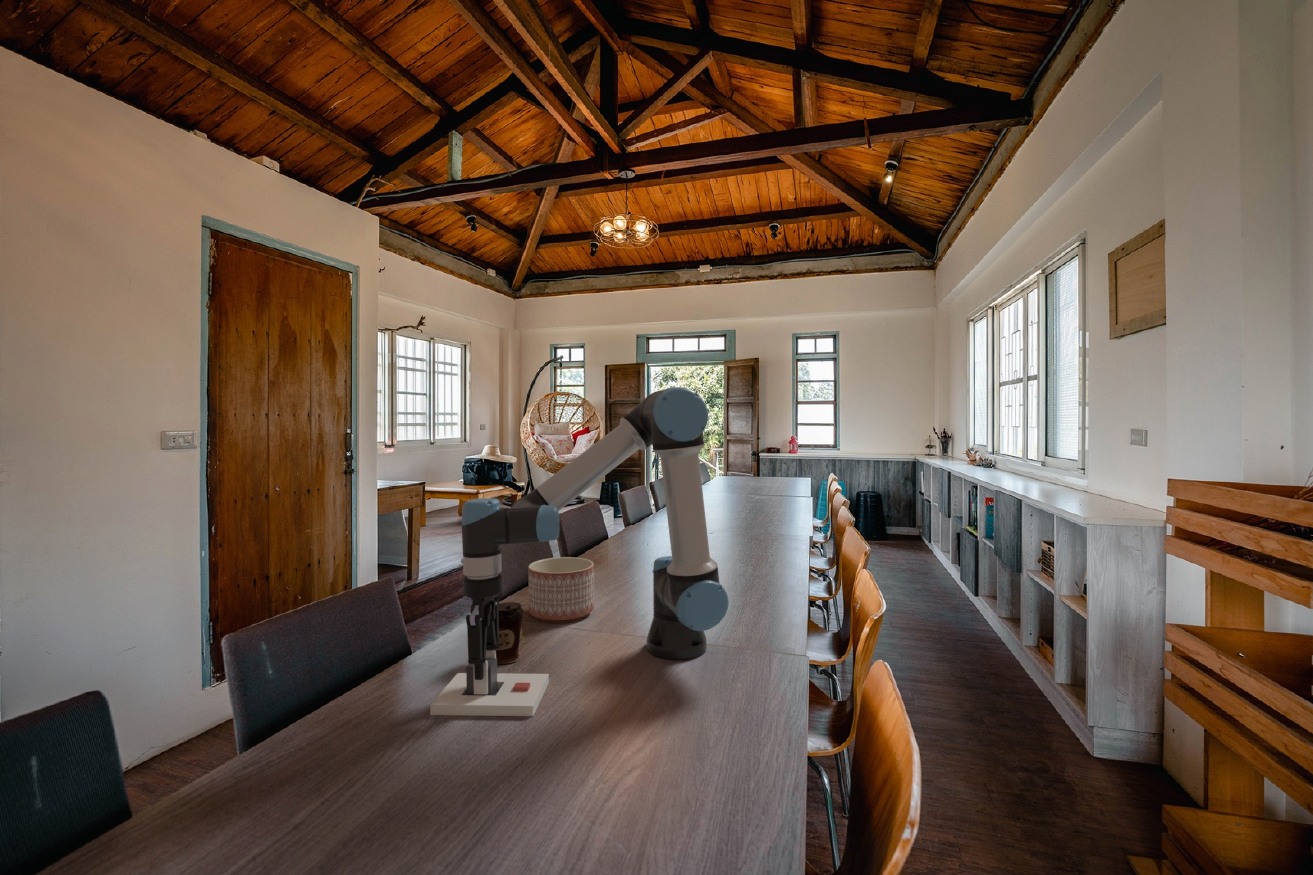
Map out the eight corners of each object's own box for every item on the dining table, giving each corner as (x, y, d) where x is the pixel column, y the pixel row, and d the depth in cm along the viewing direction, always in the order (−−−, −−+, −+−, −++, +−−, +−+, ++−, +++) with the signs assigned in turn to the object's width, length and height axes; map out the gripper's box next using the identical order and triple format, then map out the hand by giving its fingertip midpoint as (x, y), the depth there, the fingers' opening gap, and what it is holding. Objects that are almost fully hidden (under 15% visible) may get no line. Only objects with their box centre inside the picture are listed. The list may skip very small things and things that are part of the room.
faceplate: (548, 683, 122) (548, 670, 122) (533, 716, 108) (532, 701, 108) (457, 682, 122) (457, 669, 122) (430, 715, 108) (430, 700, 108)
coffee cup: (513, 668, 129) (513, 612, 129) (480, 665, 131) (480, 610, 130) (529, 653, 138) (529, 601, 137) (498, 651, 139) (498, 599, 139)
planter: (606, 610, 170) (606, 562, 170) (564, 630, 154) (564, 576, 153) (559, 600, 180) (559, 554, 180) (514, 617, 164) (514, 567, 164)
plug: (497, 691, 117) (497, 658, 117) (491, 701, 113) (490, 666, 113) (473, 691, 117) (473, 658, 117) (466, 700, 113) (466, 666, 113)
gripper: (479, 564, 123) (481, 669, 124) (447, 587, 106) (450, 709, 106) (512, 563, 123) (515, 668, 124) (486, 586, 106) (489, 708, 106)
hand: (485, 687), depth 115 cm, fingers open, 5 cm apart
